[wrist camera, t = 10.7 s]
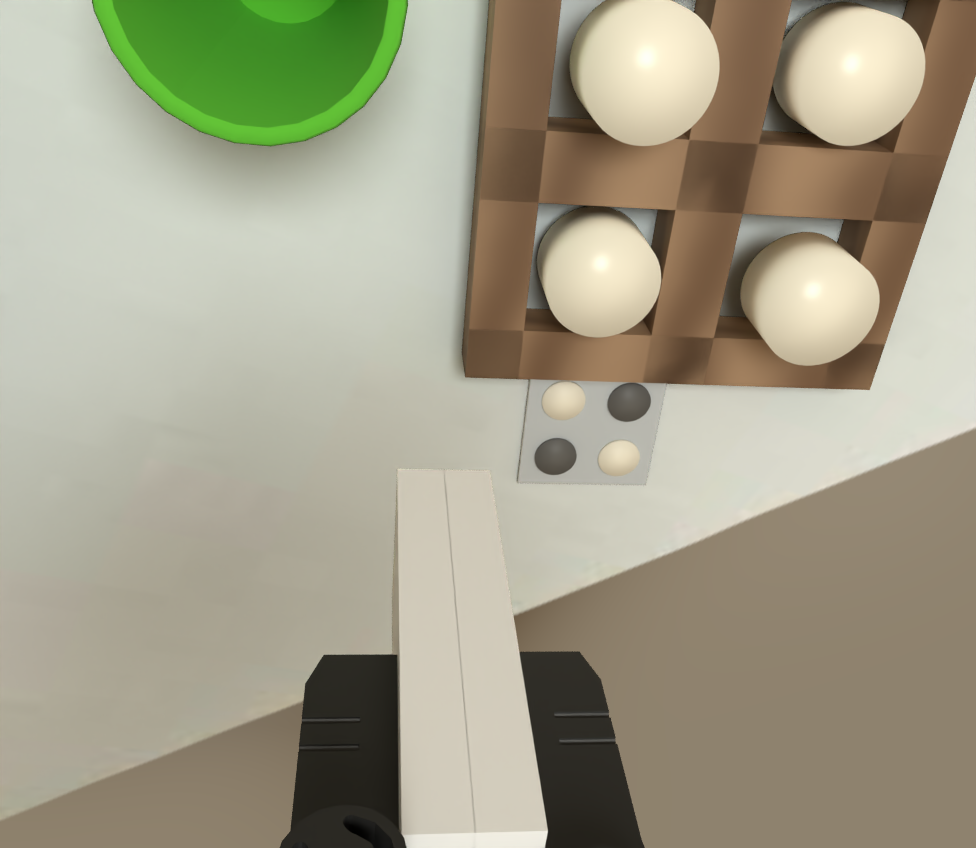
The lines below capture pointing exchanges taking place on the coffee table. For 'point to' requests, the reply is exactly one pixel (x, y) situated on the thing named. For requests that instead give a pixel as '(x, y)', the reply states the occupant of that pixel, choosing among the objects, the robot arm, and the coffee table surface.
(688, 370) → the board
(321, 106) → the cup
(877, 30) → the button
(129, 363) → the coffee table surface
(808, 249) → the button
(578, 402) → the card
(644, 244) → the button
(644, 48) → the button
